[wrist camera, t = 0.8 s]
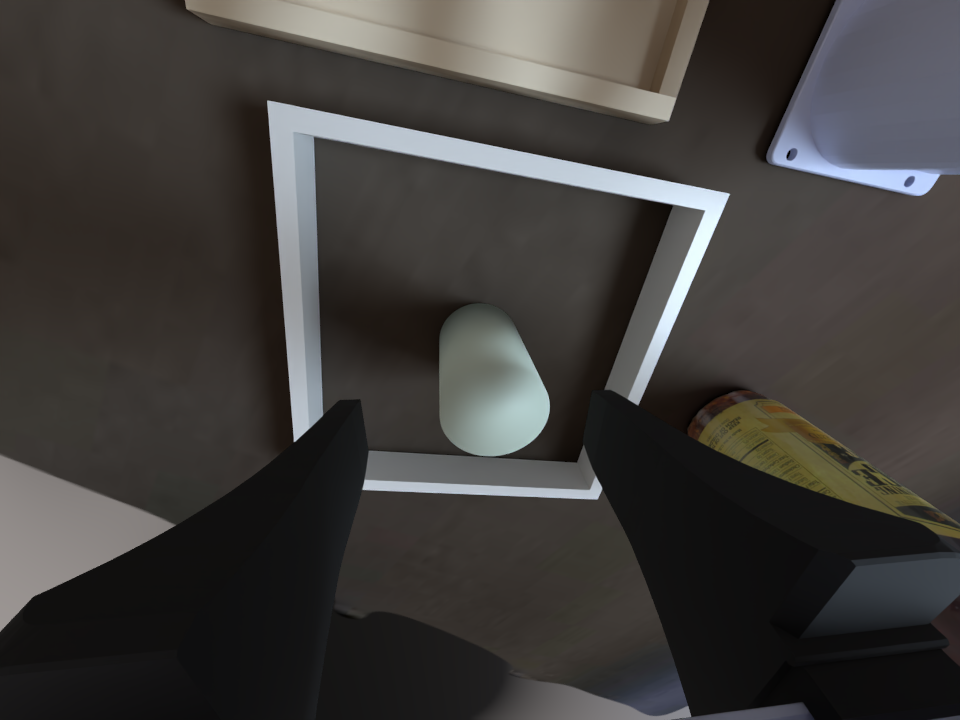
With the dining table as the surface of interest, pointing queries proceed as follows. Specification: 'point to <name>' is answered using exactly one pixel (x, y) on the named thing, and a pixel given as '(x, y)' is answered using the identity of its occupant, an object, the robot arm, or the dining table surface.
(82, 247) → the dining table surface
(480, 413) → the sage cylinder
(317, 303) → the white hollow square frame
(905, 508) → the sauce bottle
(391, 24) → the birch tray
